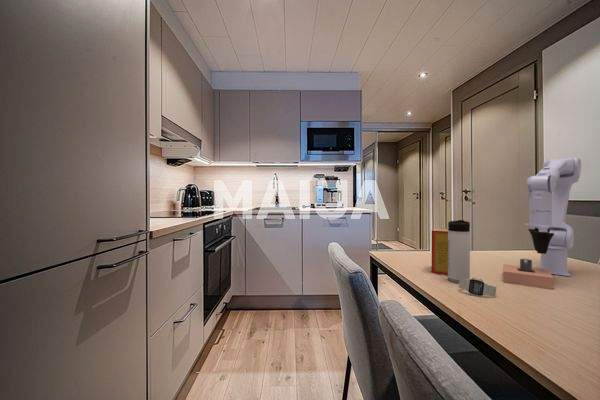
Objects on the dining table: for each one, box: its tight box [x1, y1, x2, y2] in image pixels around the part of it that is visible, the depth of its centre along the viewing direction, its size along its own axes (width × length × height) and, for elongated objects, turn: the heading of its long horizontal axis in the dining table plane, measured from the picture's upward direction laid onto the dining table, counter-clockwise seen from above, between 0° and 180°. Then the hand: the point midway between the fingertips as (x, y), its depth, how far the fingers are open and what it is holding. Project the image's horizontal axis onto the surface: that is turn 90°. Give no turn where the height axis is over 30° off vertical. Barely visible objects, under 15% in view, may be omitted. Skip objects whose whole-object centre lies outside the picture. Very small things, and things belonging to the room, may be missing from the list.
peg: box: [519, 258, 533, 272], centre depth 91 cm, size 3×3×7 cm
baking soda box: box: [431, 227, 448, 276], centre depth 102 cm, size 10×6×16 cm
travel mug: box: [447, 219, 471, 284], centre depth 91 cm, size 6×7×20 cm
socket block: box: [502, 263, 554, 290], centre depth 91 cm, size 12×12×4 cm
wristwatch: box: [458, 277, 497, 298], centre depth 79 cm, size 9×6×5 cm
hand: (540, 251), depth 92 cm, fingers open, 7 cm apart
